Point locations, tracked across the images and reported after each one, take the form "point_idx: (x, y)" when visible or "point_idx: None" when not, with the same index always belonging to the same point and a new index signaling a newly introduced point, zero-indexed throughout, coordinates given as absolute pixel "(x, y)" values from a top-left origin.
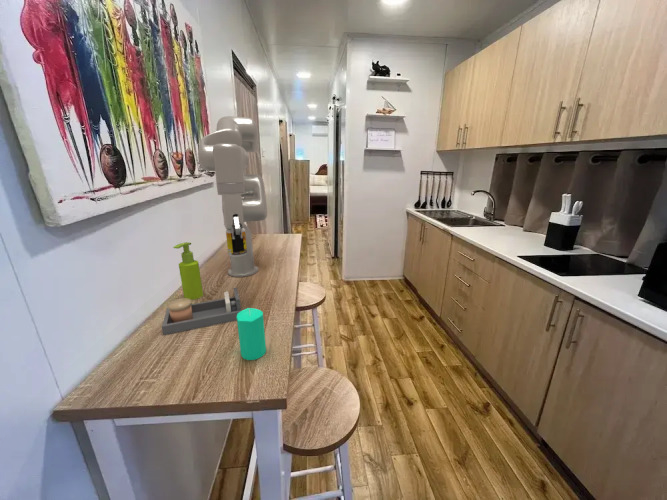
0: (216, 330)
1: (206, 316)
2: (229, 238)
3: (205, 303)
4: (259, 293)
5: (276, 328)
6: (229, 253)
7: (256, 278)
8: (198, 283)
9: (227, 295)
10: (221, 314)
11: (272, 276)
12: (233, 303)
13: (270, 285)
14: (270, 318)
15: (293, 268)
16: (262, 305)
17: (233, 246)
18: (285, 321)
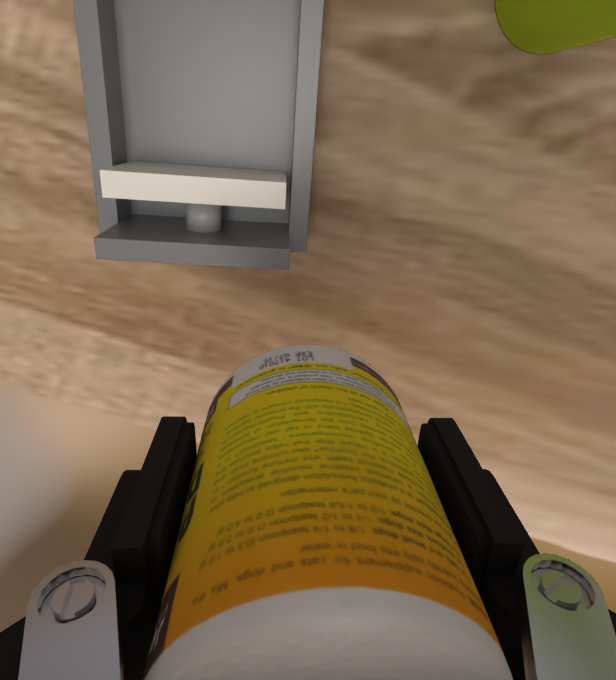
0: (79, 91)
1: (101, 39)
2: (213, 525)
3: (299, 48)
4: (392, 355)
5: (20, 347)
6: (262, 362)
7: (591, 378)
8: (564, 10)
9: (221, 196)
10: (98, 132)
11: (558, 450)
12: (188, 216)
13: (455, 418)
14: (114, 345)
15: (585, 548)
16: (253, 341)
17: (148, 471)
18: (68, 390)
